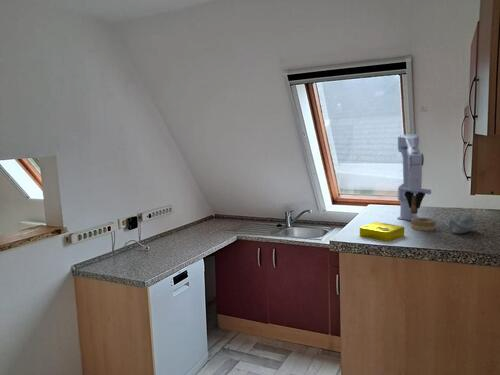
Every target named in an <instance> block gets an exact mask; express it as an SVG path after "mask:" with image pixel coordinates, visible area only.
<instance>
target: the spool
mask: <svg viewBox="0 0 500 375" xmlns="http://www.w3.org/2000/svg"><path fill="white" fill-rule="evenodd" d="M448 226H449V229H450V231H451V232H452V233H453V234H456V235H462V234H466V233H469V232H470V231H471V230H473V229H474V226H475V220H474V218H473V216H472V215H471V214H469V213H458V214H454V215H453V216H451V218H450V219H449V224H448Z"/></svg>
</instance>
